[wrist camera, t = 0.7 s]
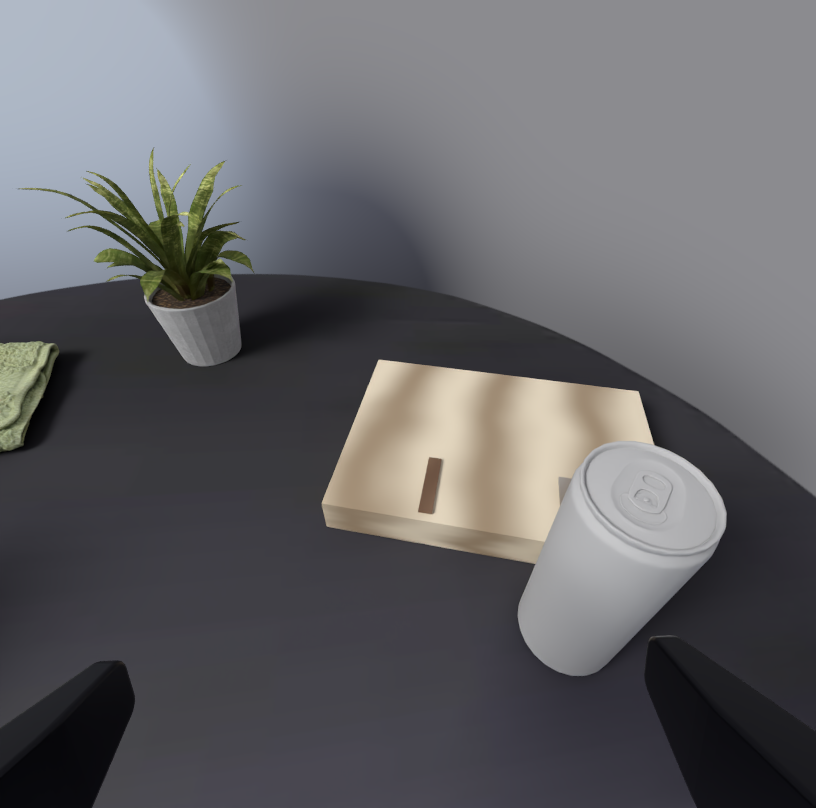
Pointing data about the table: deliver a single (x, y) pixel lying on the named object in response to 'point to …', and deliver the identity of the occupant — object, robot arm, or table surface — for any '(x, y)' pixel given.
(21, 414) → the washcloth
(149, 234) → the house plant
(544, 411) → the chopping board
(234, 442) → the table surface
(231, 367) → the table surface
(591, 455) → the beverage can
